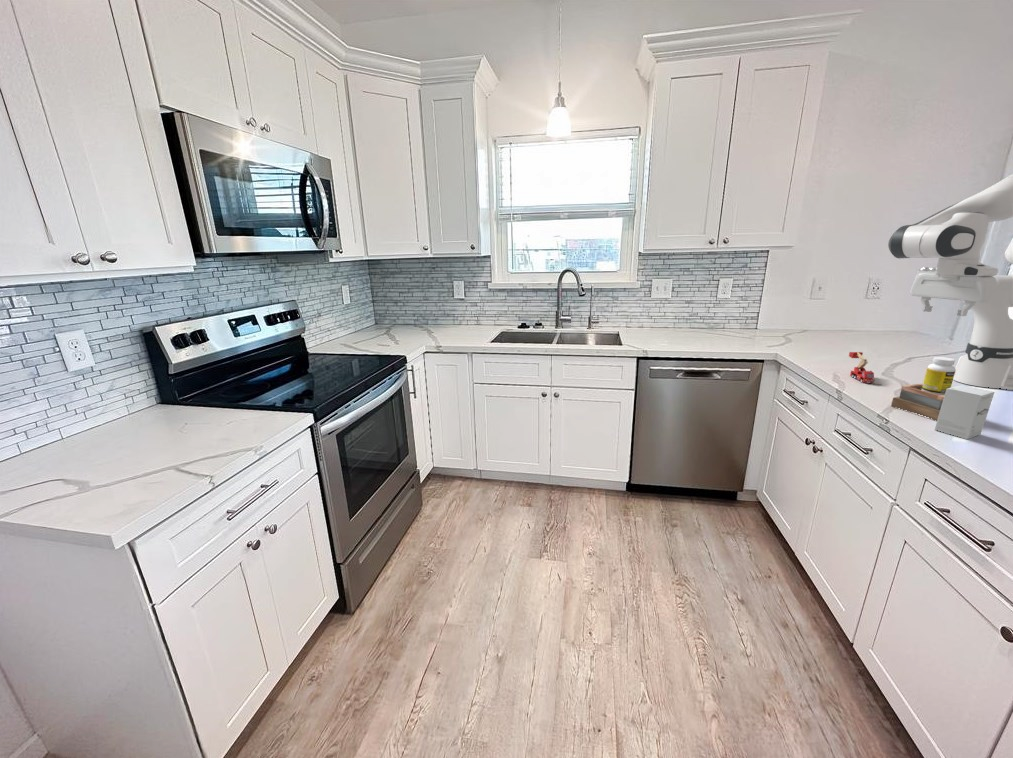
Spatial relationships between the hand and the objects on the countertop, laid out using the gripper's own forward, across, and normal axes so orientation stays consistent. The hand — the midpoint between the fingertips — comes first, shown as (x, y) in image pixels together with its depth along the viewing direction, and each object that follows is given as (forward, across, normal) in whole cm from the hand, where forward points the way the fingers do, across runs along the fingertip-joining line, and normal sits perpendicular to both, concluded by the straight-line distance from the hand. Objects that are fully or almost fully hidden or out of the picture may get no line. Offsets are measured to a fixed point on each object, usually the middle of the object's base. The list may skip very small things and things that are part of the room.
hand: (943, 313), depth 138 cm
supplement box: (+29, +22, -18) cm, 41 cm away
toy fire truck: (+29, -24, +4) cm, 38 cm away
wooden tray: (+29, +8, -8) cm, 31 cm away
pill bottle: (+23, +8, -8) cm, 26 cm away
